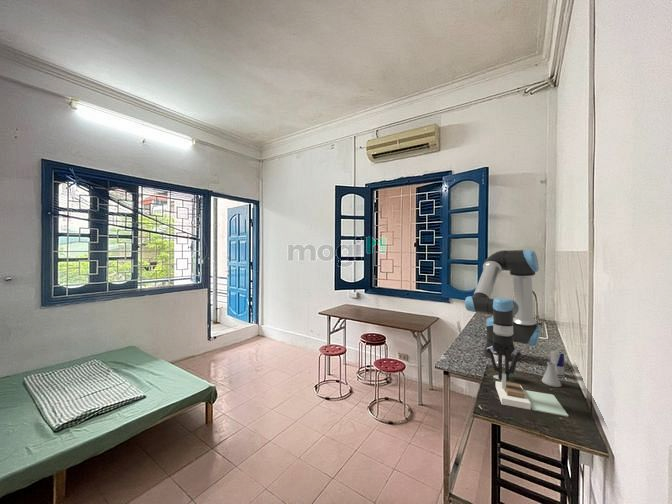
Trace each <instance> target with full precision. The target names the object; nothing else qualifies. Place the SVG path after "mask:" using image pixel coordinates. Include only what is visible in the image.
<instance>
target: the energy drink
mask: <svg viewBox="0 0 672 504" xmlns="http://www.w3.org/2000/svg"><path fill="white" fill-rule="evenodd" d="M550 362H553V363H555V364H556V365H555V370H556V374H557V376H558V378H564V377H565V353H564V352H563V350H562V351H561V350H557V349H551V350H550Z"/></svg>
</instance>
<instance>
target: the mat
mask: <svg viewBox="0 0 672 504" xmlns="http://www.w3.org/2000/svg"><path fill="white" fill-rule="evenodd" d="M523 390H524V392H525V394H526V396H527V398H528V399H529V401H530V403H531V410H532V411H535V412H541V413H547V414H551V415H558V416H563V417H568V418H569V414H568V413H567V411H566V409H565V408H564V407H563V406H562V404H561V403H560V402H559V401H558V399H557V398H556V396H555V394H551V393H545V392H540V391H534V390H533V391H532V390H527V389H523Z"/></svg>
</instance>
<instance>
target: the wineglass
mask: <svg viewBox="0 0 672 504" xmlns="http://www.w3.org/2000/svg"><path fill="white" fill-rule="evenodd" d="M492 353H493V356H494V359H495V363H496V366H498V354H497V352H496V351H493V352H492ZM502 365H505V356H504V355H502ZM492 377H493V378H494V379H497V380H499V378H498V374H494V375H493V376H492Z"/></svg>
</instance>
